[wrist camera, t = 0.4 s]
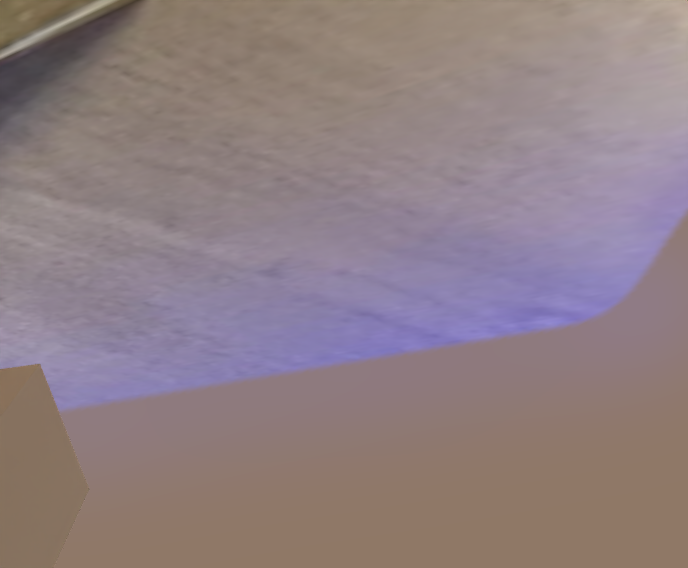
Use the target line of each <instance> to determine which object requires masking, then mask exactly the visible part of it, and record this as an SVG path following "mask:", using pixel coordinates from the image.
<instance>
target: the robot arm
mask: <svg viewBox="0 0 688 568" xmlns="http://www.w3.org/2000/svg"><path fill="white" fill-rule="evenodd" d="M88 491H89V487H88V484H87V482H86V479H85V477H84V475H83V472H82V469H81V467H80V464H79V462H78V459H77V457H76V454H75V452H74V449H73V446H72V444H71V441H70V439H69V436H68V434H67V431H66V429H65V426H64V424H63V421H62V419H61V416H60V414H59V411H58V408H57V406H56V403H55V401H54V398H53V396H52V393H51V391H50V388H49V386H48V383H47V381H46V378H45V376H44V373H43V370H42V368H41V365H40V364H35V365H28V366H21V367H13V368H6V369H0V568H54V565H55V563H56V561H57V559H58V557H59V554H60V552H61V550H62V548H63V546H64V544H65V541H66V539H67V537H68V535H69V532H70V530H71V528H72V526H73V524H74V522H75V519H76V517H77V515H78V513H79V511H80V508H81V506H82V504H83V502H84V500H85V497H86V495H87V493H88Z"/></svg>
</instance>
